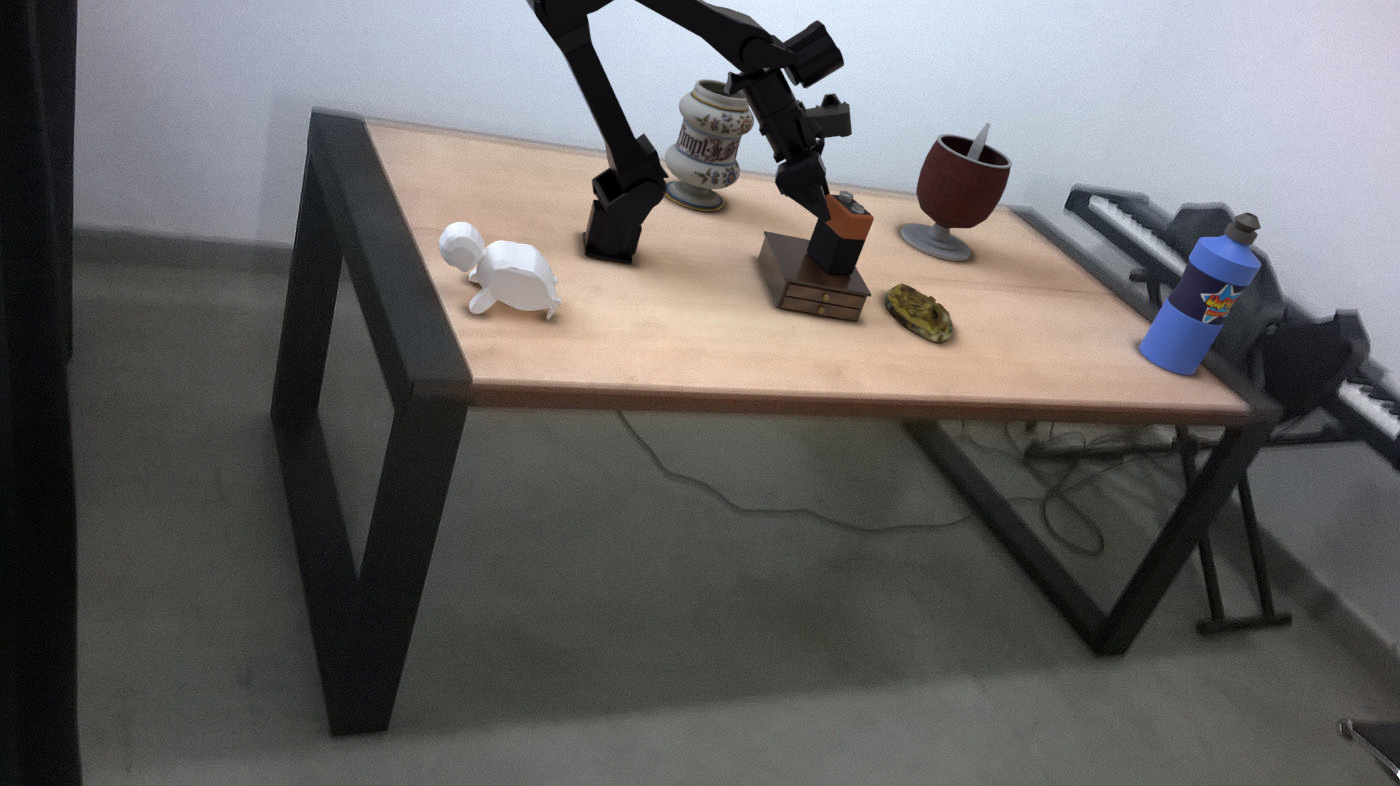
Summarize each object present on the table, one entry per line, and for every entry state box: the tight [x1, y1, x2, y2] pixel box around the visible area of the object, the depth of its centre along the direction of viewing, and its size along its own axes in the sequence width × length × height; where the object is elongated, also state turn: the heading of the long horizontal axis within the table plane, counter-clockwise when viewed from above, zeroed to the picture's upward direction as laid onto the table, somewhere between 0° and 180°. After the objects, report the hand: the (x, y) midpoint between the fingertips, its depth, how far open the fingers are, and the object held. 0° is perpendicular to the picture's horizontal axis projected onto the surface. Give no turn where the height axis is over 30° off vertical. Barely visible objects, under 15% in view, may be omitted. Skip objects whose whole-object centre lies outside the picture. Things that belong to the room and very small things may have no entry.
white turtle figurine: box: [438, 221, 562, 320], centre depth 123 cm, size 9×8×15 cm
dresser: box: [756, 230, 872, 322], centre depth 150 cm, size 13×16×5 cm
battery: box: [807, 190, 875, 275], centre depth 147 cm, size 4×7×10 cm, turn 25°
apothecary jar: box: [664, 78, 755, 212], centre depth 165 cm, size 12×12×18 cm
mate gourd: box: [900, 122, 1013, 262], centre depth 178 cm, size 16×14×20 cm
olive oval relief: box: [884, 283, 954, 343], centre depth 154 cm, size 9×5×15 cm
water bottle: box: [1138, 212, 1262, 376], centre depth 161 cm, size 9×9×25 cm
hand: (827, 208), depth 146 cm, fingers open, 9 cm apart
